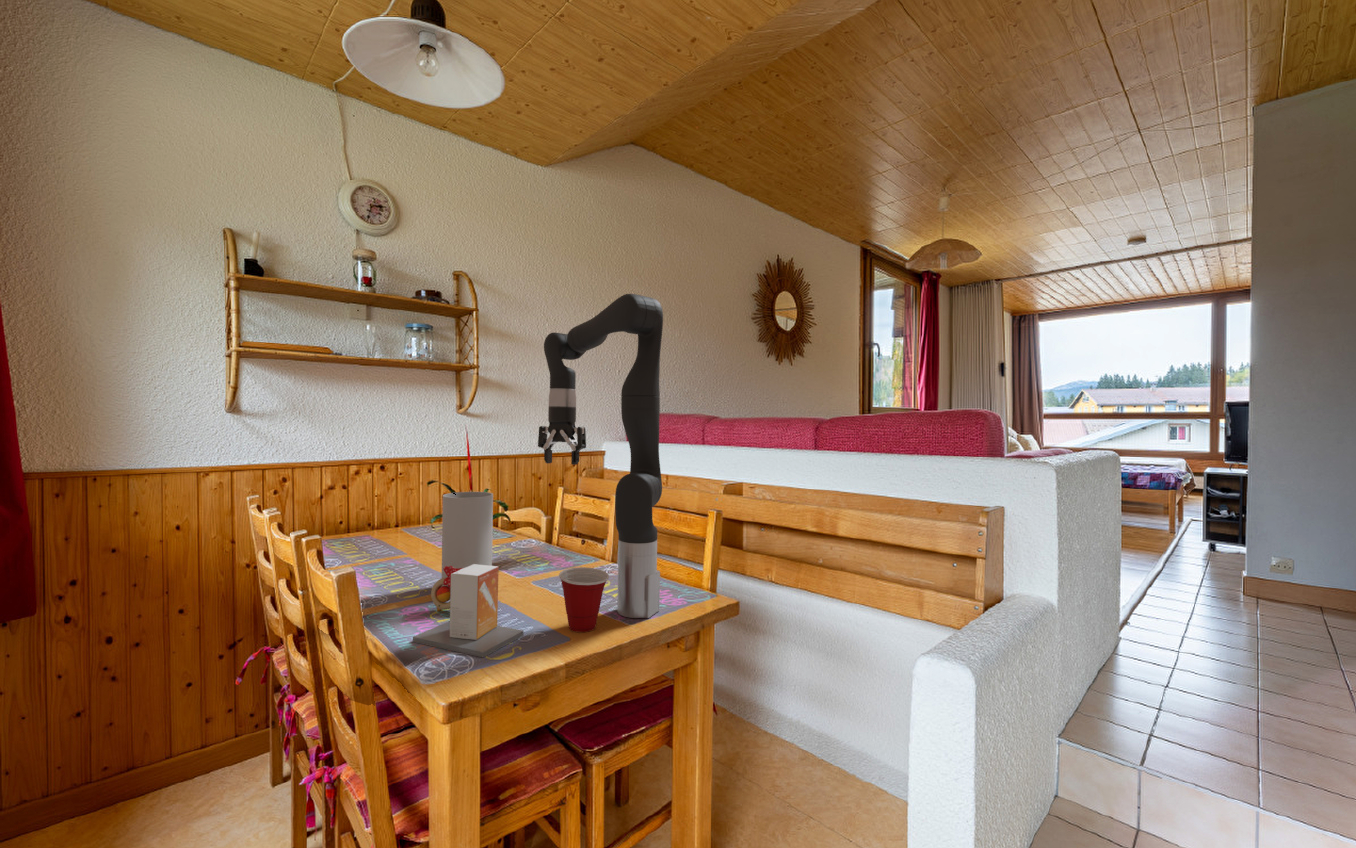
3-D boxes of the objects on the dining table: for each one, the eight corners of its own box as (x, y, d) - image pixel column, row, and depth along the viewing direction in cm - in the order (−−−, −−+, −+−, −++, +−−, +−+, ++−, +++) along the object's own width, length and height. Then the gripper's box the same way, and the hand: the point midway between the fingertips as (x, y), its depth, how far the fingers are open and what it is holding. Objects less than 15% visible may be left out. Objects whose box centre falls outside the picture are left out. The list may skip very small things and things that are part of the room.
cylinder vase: (501, 585, 151) (503, 493, 151) (466, 598, 140) (468, 499, 139) (466, 579, 156) (468, 490, 156) (430, 591, 145) (432, 495, 145)
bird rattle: (433, 624, 127) (469, 609, 127) (415, 579, 128) (451, 564, 127) (446, 615, 134) (480, 601, 133) (428, 572, 134) (462, 558, 134)
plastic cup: (587, 641, 114) (588, 583, 114) (547, 630, 119) (548, 575, 119) (618, 625, 123) (619, 571, 123) (579, 615, 129) (580, 564, 129)
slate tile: (523, 635, 116) (523, 630, 116) (483, 657, 105) (483, 652, 105) (457, 622, 123) (457, 617, 123) (412, 641, 112) (412, 636, 112)
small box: (476, 641, 111) (477, 575, 111) (448, 637, 112) (449, 573, 112) (498, 626, 119) (499, 565, 118) (471, 623, 120) (472, 563, 120)
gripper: (591, 406, 155) (590, 464, 155) (549, 405, 160) (548, 462, 161) (576, 405, 148) (575, 466, 148) (532, 405, 154) (531, 463, 154)
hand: (561, 463), depth 154 cm, fingers open, 8 cm apart
